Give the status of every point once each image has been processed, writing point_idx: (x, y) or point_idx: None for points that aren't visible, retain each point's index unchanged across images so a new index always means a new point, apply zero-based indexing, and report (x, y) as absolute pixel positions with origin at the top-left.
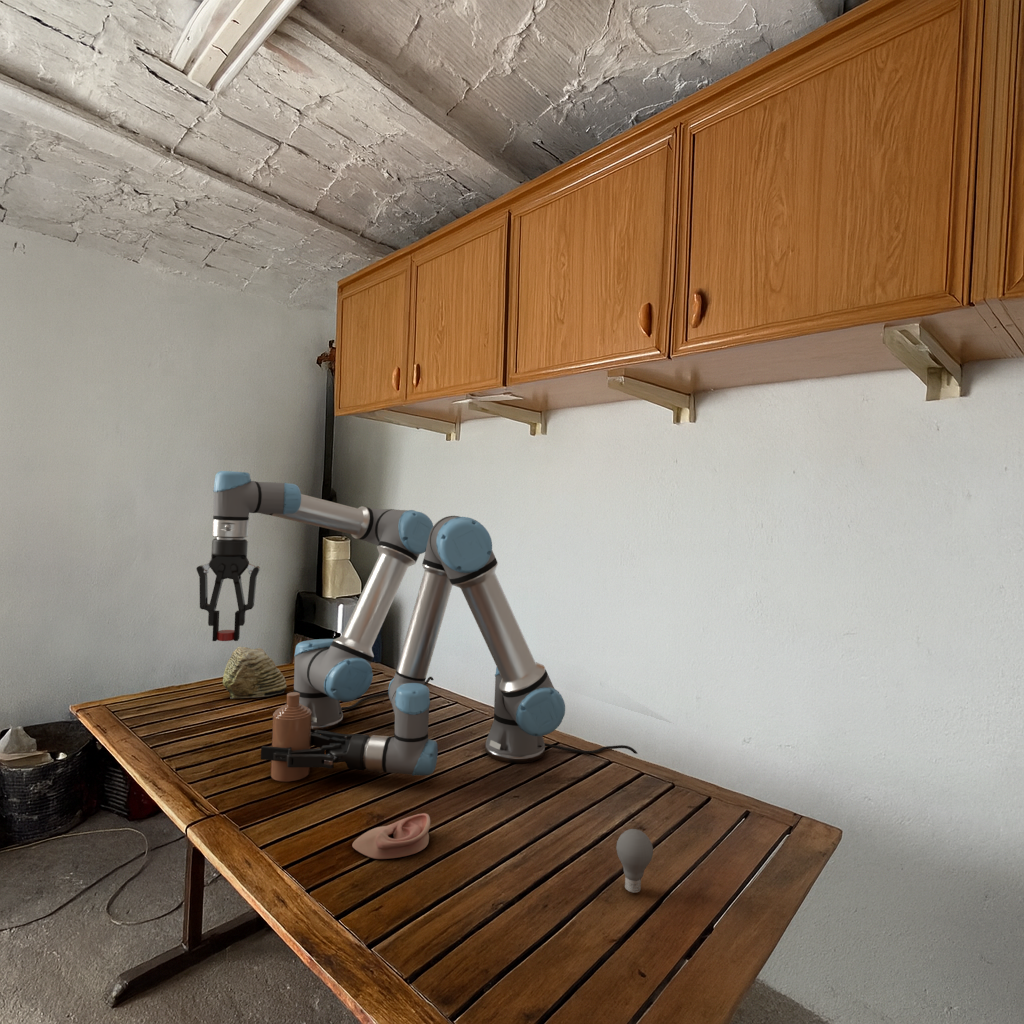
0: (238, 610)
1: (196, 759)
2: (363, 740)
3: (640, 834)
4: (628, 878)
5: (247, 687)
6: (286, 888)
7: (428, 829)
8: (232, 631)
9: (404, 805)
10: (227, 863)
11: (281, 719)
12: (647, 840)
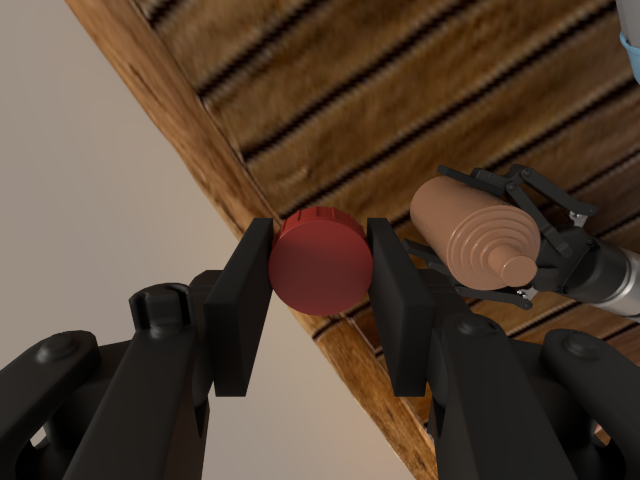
0: (429, 424)
1: (266, 112)
2: (605, 297)
3: None
4: None
5: None
6: (426, 451)
7: None
8: (356, 272)
9: (588, 333)
10: (369, 411)
11: (463, 284)
12: None
